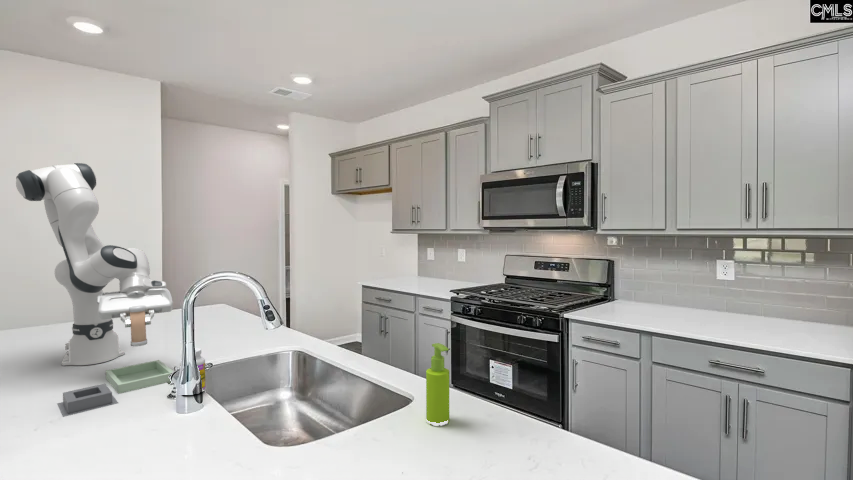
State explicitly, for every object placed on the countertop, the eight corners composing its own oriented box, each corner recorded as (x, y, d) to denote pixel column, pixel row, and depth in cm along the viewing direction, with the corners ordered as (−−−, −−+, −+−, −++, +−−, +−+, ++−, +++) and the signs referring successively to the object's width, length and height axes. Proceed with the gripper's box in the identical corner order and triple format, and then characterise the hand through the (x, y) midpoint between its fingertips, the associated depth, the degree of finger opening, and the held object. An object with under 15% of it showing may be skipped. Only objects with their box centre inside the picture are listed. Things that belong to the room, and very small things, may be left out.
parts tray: (106, 381, 142) (105, 370, 142) (159, 369, 153) (158, 359, 153) (118, 396, 129) (118, 385, 129) (175, 383, 140) (175, 372, 140)
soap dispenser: (435, 430, 108) (435, 349, 107) (422, 419, 114) (422, 342, 114) (455, 425, 111) (455, 346, 110) (442, 414, 117) (442, 339, 116)
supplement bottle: (195, 397, 129) (194, 354, 128) (175, 395, 130) (174, 352, 130) (210, 389, 135) (209, 347, 135) (191, 387, 137) (190, 346, 136)
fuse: (129, 344, 140) (127, 307, 140) (145, 341, 143) (143, 304, 143) (132, 347, 137) (130, 308, 137) (148, 344, 140) (147, 306, 140)
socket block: (57, 406, 123) (56, 392, 122) (109, 394, 131) (109, 381, 131) (63, 420, 114) (62, 405, 114) (118, 406, 123) (118, 392, 123)
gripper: (96, 287, 139) (96, 324, 132) (171, 281, 151) (175, 314, 143) (97, 299, 143) (97, 335, 136) (170, 292, 155) (174, 325, 147)
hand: (138, 325), depth 140 cm, fingers closed on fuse, 4 cm apart
